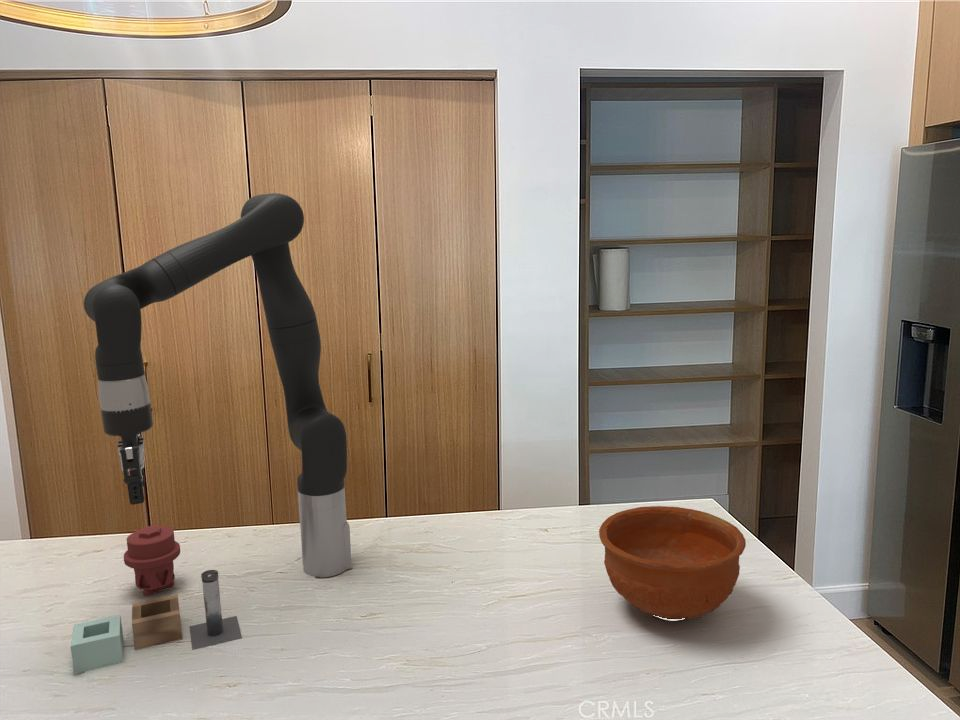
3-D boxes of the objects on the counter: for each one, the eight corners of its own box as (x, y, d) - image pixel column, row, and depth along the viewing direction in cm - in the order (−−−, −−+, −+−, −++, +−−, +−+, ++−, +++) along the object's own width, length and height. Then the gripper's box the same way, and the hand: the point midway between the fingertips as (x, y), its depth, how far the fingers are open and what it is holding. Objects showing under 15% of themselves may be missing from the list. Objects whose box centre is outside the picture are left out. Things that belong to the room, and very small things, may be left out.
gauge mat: (236, 617, 134) (236, 615, 134) (242, 639, 127) (242, 638, 127) (189, 627, 131) (189, 626, 131) (192, 651, 124) (192, 649, 124)
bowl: (772, 620, 130) (777, 540, 127) (667, 666, 117) (670, 578, 114) (668, 565, 150) (671, 495, 148) (570, 599, 138) (571, 523, 135)
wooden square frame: (180, 619, 134) (177, 594, 133) (182, 640, 127) (179, 613, 126) (135, 629, 131) (132, 603, 130) (135, 651, 124) (131, 624, 123)
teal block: (123, 641, 127) (120, 614, 126) (122, 663, 121) (119, 635, 120) (77, 651, 124) (73, 624, 123) (74, 674, 118) (70, 646, 117)
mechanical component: (194, 578, 149) (163, 604, 139) (149, 574, 151) (116, 599, 141) (188, 520, 146) (156, 542, 137) (143, 517, 148) (109, 539, 139)
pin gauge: (222, 626, 130) (217, 568, 128) (224, 634, 128) (218, 575, 126) (206, 630, 129) (200, 571, 127) (207, 638, 127) (201, 578, 125)
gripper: (149, 410, 119) (162, 505, 122) (150, 391, 132) (161, 477, 135) (97, 416, 116) (111, 513, 119) (103, 396, 129) (116, 484, 132)
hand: (138, 494), depth 127 cm, fingers open, 8 cm apart
